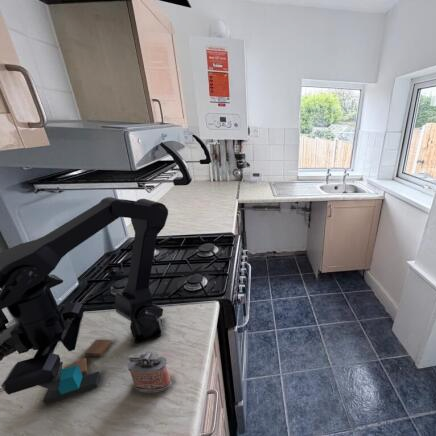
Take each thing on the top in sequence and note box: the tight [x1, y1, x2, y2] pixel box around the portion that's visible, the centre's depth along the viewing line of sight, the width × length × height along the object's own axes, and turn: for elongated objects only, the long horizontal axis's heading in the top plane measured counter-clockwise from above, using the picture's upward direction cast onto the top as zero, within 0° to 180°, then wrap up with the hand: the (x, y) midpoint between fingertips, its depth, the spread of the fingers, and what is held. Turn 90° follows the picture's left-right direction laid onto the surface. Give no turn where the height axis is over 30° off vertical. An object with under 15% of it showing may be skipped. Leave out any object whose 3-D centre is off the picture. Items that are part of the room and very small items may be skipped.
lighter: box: [126, 351, 172, 393], centre depth 52 cm, size 8×3×10 cm, turn 92°
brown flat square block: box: [83, 339, 113, 357], centre depth 62 cm, size 4×4×1 cm
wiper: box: [42, 365, 101, 406], centre depth 52 cm, size 9×3×6 cm, turn 115°
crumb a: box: [63, 357, 88, 376], centre depth 56 cm, size 4×4×1 cm
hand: (64, 367), depth 50 cm, fingers open, 9 cm apart
